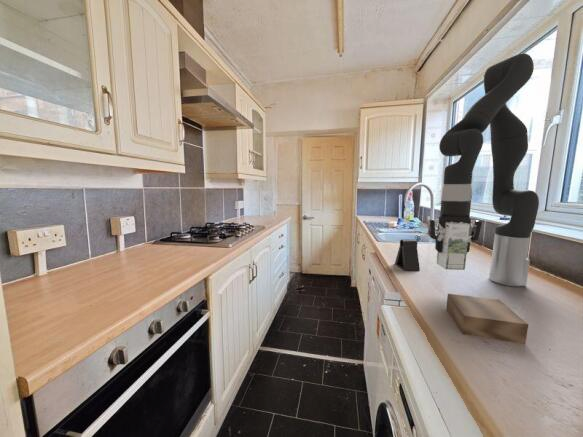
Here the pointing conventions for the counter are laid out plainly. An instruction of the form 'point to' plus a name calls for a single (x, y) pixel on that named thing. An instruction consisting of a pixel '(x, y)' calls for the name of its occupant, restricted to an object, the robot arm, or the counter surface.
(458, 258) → the syrup box
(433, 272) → the counter surface
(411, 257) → the phone stand
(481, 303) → the walnut block
